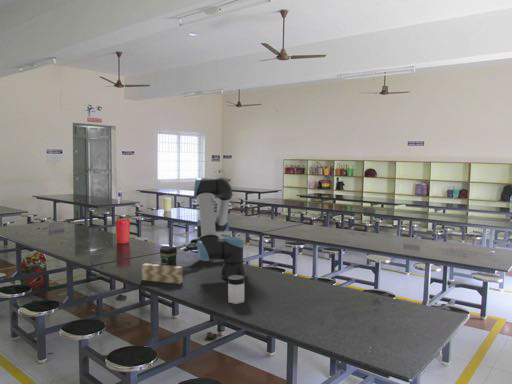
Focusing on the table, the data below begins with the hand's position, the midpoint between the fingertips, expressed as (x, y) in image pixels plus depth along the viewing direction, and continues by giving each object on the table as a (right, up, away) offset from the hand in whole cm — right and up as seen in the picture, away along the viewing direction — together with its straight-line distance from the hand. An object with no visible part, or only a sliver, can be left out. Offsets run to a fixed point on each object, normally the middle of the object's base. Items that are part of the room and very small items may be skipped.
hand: (180, 251), depth 254 cm
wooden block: (-7, -14, -21) cm, 26 cm away
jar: (+37, -17, -52) cm, 66 cm away
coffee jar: (-4, -14, -14) cm, 20 cm away
